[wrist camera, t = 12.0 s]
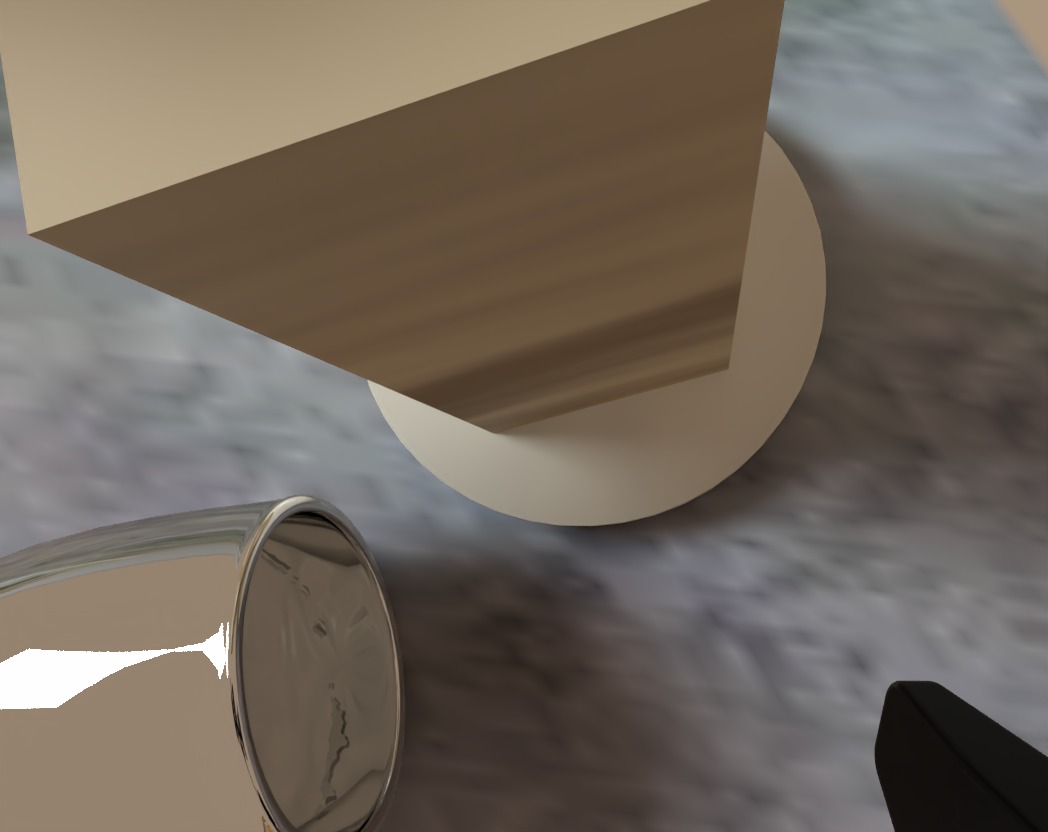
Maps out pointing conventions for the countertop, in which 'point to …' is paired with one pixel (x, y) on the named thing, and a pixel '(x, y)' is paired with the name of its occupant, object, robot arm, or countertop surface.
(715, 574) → the countertop surface
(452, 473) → the saucer
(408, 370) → the wooden block
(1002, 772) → the robot arm
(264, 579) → the beer glass
